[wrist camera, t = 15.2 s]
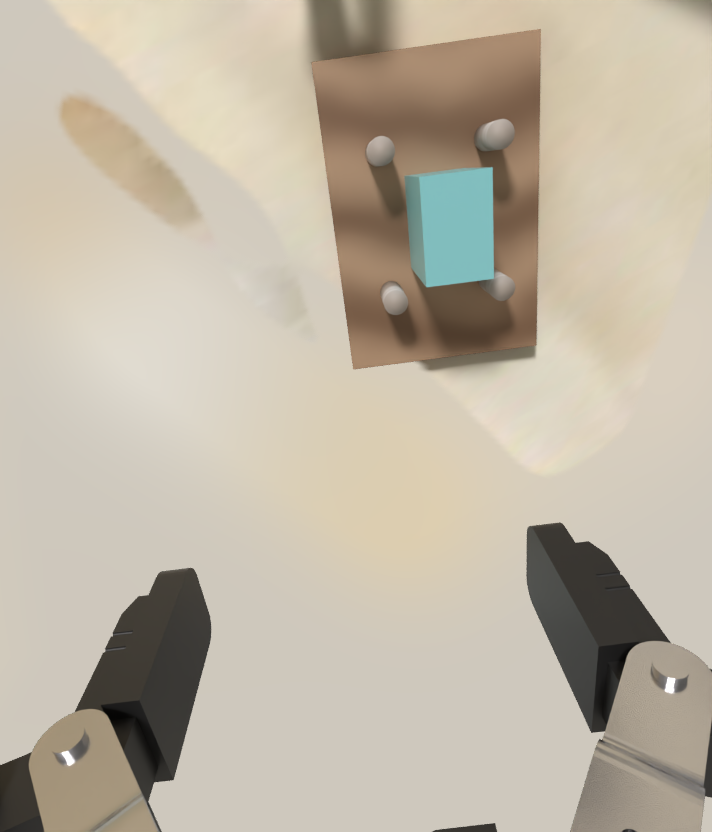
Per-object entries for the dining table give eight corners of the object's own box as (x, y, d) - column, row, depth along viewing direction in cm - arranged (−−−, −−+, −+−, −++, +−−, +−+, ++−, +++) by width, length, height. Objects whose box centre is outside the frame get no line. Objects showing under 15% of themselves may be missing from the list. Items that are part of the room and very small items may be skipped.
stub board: (312, 66, 34) (308, 50, 30) (532, 34, 34) (562, 13, 29) (352, 363, 43) (354, 385, 38) (529, 339, 42) (553, 359, 38)
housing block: (404, 175, 36) (419, 177, 29) (464, 167, 36) (492, 167, 29) (411, 267, 38) (426, 287, 32) (467, 260, 38) (493, 278, 32)
